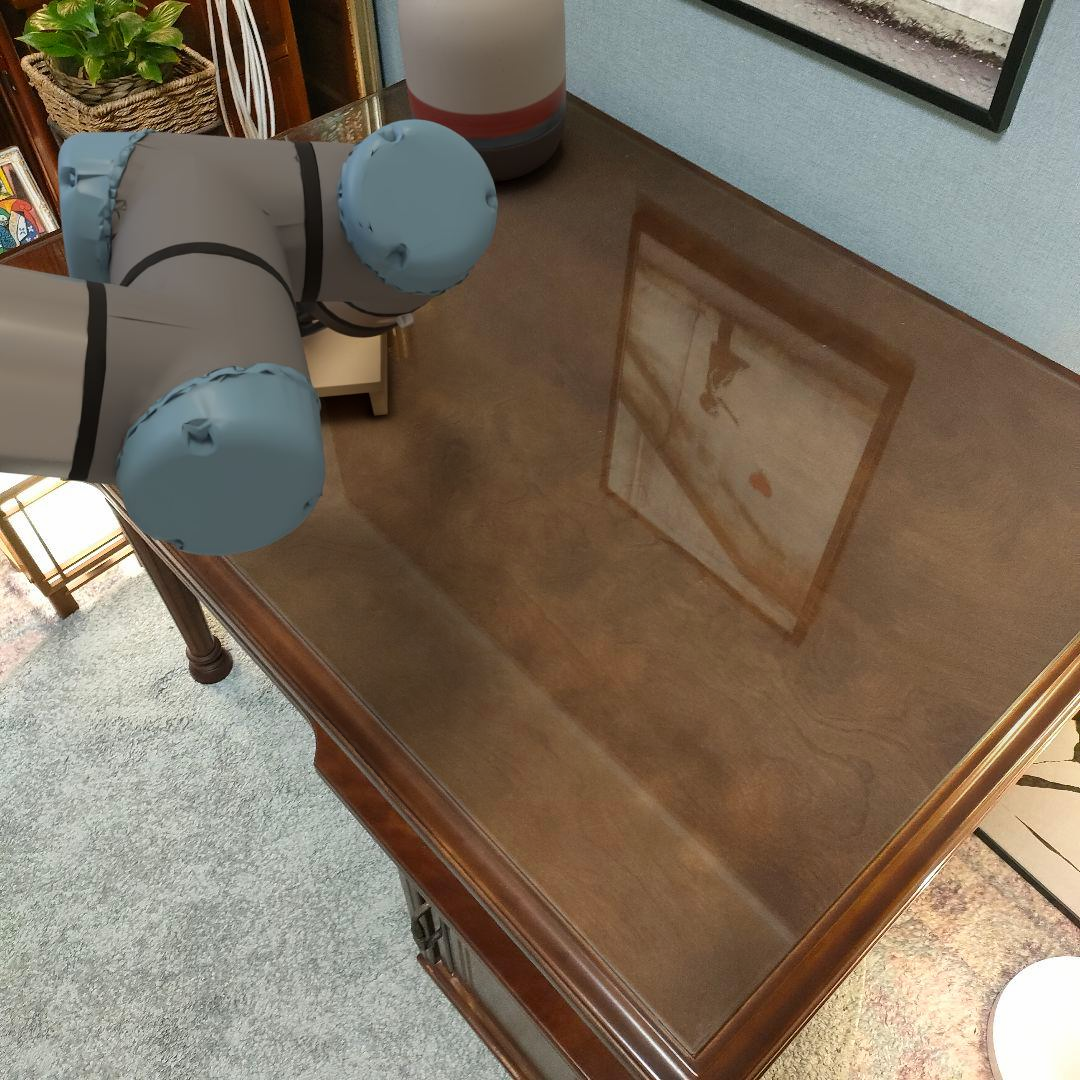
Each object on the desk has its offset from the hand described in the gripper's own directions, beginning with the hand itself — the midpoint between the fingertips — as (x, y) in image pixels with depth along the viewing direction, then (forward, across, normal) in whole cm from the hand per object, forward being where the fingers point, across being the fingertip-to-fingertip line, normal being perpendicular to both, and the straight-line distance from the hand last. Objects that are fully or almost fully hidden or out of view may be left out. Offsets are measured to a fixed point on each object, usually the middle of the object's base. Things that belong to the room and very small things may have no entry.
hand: (319, 322), depth 81 cm
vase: (+29, +32, +13) cm, 45 cm away
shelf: (+14, 0, -2) cm, 14 cm away
